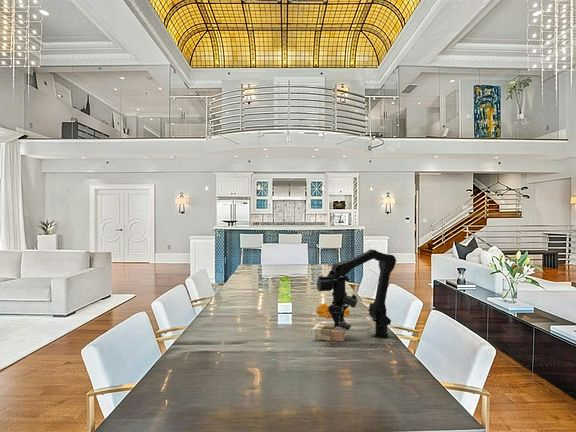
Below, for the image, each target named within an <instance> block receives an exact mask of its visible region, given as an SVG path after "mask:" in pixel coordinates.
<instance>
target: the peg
mask: <svg viewBox="0 0 576 432" xmlns="http://www.w3.org/2000/svg"><path fill="white" fill-rule="evenodd" d="M329 330H331V329H329ZM345 331H346V330H337V329H334V330H331V340H330V341H337V342H338V341H339V342H344V340H345V336H346V335H345V333H346V332H345Z"/></svg>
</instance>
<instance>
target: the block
mask: <svg viewBox="0 0 576 432" xmlns="http://www.w3.org/2000/svg"><path fill="white" fill-rule="evenodd" d="M329 329H331V330H335V328H334V325H329V324H328V325H327V324H321V325H319V326H318V327H317V328H316V329H315V339H316V340H319V341H320V340H322V341H329V342H330V341H332V340H331V330H329Z"/></svg>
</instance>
